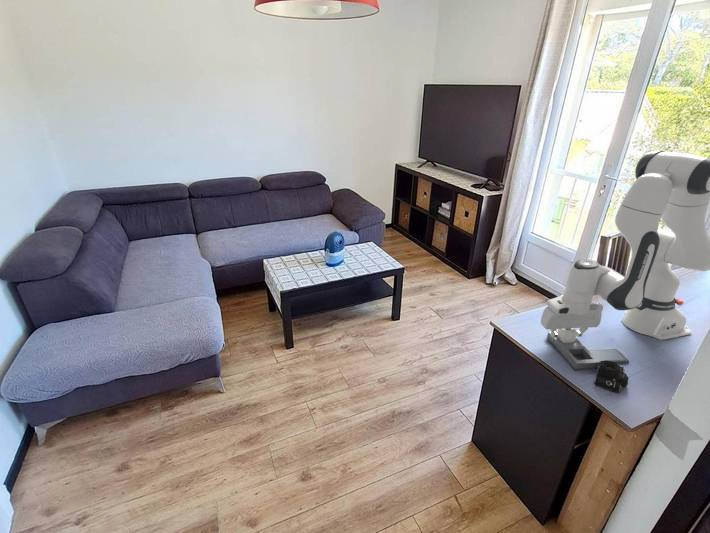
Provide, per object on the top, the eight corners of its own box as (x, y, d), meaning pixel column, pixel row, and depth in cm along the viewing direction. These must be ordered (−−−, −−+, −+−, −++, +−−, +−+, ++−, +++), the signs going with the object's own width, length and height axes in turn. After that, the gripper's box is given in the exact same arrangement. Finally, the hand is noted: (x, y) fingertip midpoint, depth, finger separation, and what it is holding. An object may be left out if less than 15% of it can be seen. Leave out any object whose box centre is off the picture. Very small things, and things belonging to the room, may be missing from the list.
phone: (615, 351, 132) (616, 348, 131) (628, 363, 126) (629, 360, 126) (580, 352, 131) (581, 350, 131) (592, 364, 126) (592, 362, 125)
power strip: (567, 337, 140) (569, 329, 138) (597, 369, 124) (600, 360, 122) (546, 338, 139) (548, 330, 138) (574, 370, 123) (577, 361, 122)
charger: (566, 339, 137) (570, 324, 134) (572, 346, 133) (577, 331, 131) (555, 340, 137) (559, 325, 134) (561, 347, 133) (565, 332, 130)
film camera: (601, 348, 125) (636, 357, 117) (602, 367, 127) (636, 377, 119) (584, 367, 118) (620, 377, 110) (585, 387, 120) (621, 398, 112)
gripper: (598, 298, 131) (588, 330, 137) (542, 300, 130) (535, 332, 136) (610, 307, 125) (599, 340, 131) (552, 310, 125) (543, 342, 131)
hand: (566, 336), depth 134 cm, fingers open, 8 cm apart
